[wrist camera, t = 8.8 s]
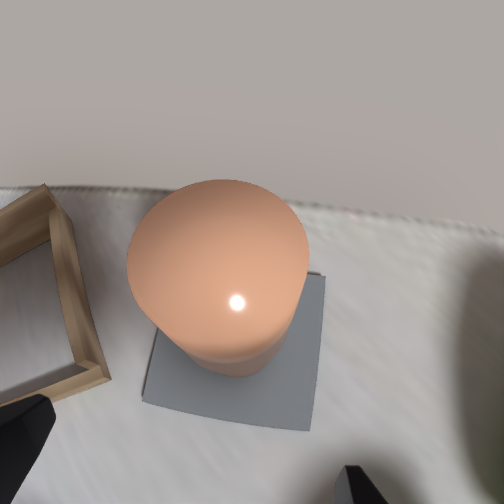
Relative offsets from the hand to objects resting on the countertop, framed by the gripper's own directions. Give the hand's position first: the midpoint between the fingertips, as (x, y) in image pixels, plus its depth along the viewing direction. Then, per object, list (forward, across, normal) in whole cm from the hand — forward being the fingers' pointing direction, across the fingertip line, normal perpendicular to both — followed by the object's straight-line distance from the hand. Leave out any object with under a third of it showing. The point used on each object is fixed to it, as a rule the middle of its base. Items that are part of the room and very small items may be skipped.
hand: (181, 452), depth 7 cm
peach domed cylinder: (+11, 0, +3) cm, 12 cm away
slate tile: (+12, 0, +3) cm, 12 cm away
